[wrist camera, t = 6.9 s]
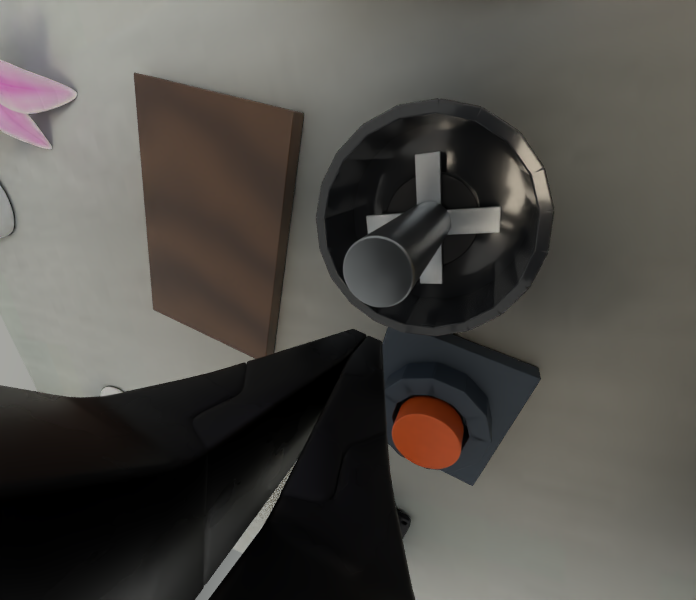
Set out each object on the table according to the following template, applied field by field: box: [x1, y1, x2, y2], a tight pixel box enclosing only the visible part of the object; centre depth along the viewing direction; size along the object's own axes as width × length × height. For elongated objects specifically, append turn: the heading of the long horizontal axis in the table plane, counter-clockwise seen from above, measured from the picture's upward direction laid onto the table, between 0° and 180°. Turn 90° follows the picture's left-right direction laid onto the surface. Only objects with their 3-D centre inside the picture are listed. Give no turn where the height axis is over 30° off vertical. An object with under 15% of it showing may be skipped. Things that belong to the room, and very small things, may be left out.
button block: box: [382, 327, 541, 486], centre depth 22 cm, size 10×9×3 cm
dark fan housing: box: [316, 98, 554, 336], centre depth 17 cm, size 10×10×4 cm
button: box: [392, 396, 464, 469], centre depth 20 cm, size 4×4×2 cm
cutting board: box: [134, 73, 304, 359], centre depth 24 cm, size 18×12×1 cm, turn 168°
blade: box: [343, 151, 501, 307], centre depth 14 cm, size 7×7×10 cm
